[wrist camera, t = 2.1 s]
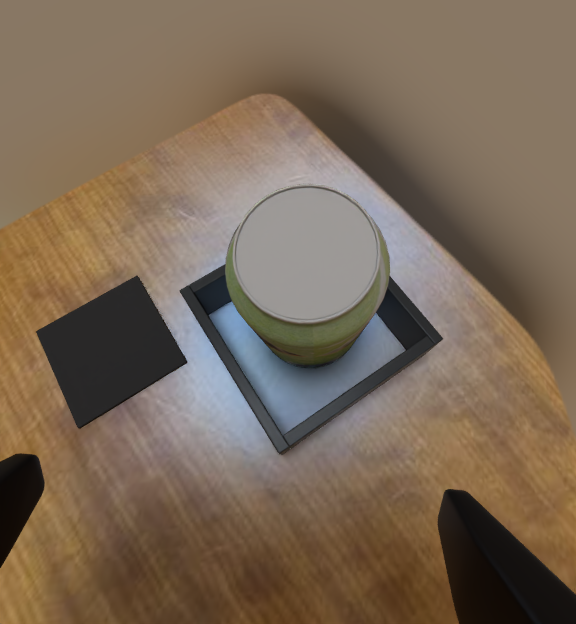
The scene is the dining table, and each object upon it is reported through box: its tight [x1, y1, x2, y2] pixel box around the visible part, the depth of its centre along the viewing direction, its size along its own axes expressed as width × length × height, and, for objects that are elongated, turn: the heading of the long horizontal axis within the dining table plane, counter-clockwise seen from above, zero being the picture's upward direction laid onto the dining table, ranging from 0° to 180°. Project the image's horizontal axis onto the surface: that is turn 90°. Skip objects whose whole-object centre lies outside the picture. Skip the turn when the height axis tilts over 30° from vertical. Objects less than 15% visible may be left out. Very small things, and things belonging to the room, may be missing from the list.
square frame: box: [180, 264, 443, 455], centre depth 22 cm, size 10×10×4 cm
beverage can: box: [225, 184, 390, 368], centre depth 18 cm, size 6×7×12 cm
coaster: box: [36, 276, 187, 428], centre depth 24 cm, size 7×7×1 cm
